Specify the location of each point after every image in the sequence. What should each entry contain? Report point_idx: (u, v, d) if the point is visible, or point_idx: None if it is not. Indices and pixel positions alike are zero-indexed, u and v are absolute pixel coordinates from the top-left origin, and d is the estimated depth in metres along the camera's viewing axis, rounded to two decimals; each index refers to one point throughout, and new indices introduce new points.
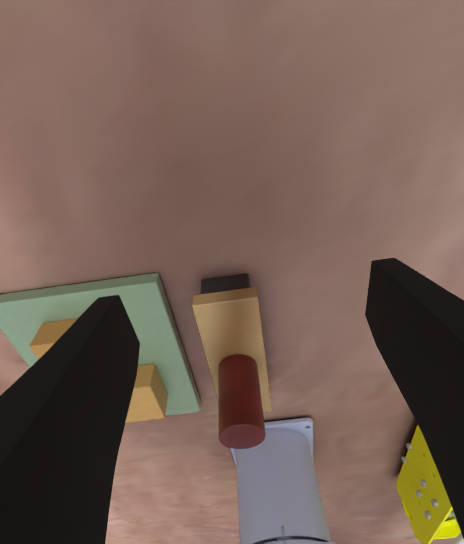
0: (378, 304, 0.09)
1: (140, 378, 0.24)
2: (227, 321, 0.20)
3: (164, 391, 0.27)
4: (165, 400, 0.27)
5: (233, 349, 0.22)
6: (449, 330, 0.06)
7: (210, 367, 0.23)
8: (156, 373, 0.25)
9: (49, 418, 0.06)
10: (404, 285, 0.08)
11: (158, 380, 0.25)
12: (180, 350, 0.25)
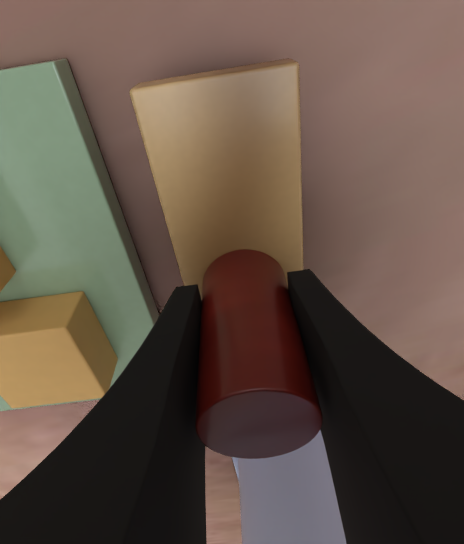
0: None
1: (50, 314, 0.12)
2: (221, 149, 0.08)
3: (109, 349, 0.15)
4: (110, 365, 0.14)
5: (235, 236, 0.10)
6: (324, 345, 0.06)
7: (186, 284, 0.11)
8: (88, 310, 0.13)
9: (171, 404, 0.06)
10: (303, 298, 0.08)
11: (93, 324, 0.13)
12: (132, 262, 0.13)
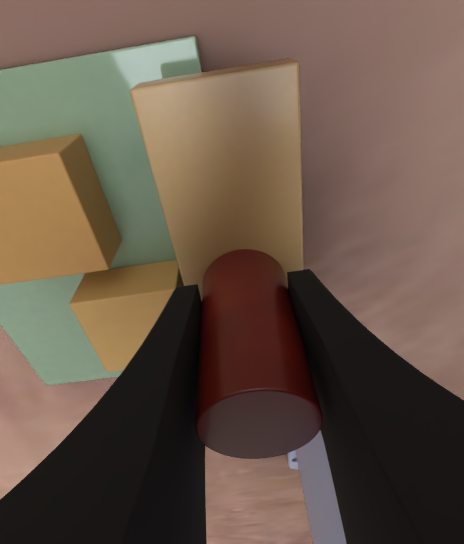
0: None
1: (156, 279, 0.13)
2: (222, 149, 0.08)
3: None
4: None
5: (235, 235, 0.10)
6: (323, 345, 0.06)
7: (186, 284, 0.11)
8: None
9: (171, 403, 0.06)
10: (303, 298, 0.08)
11: None
12: None
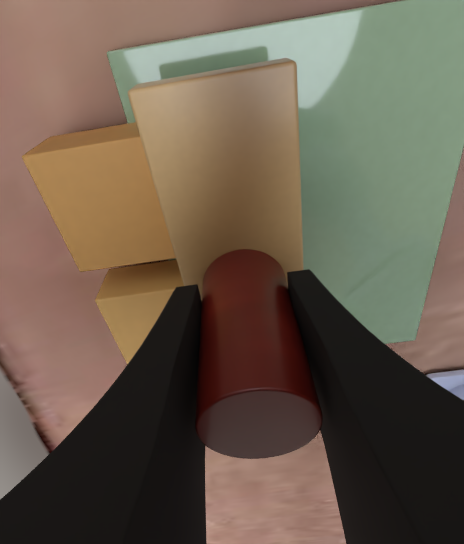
0: None
1: None
2: (220, 149, 0.08)
3: None
4: None
5: (234, 236, 0.10)
6: (324, 345, 0.06)
7: (186, 284, 0.11)
8: None
9: (171, 403, 0.06)
10: (303, 298, 0.08)
11: None
12: None
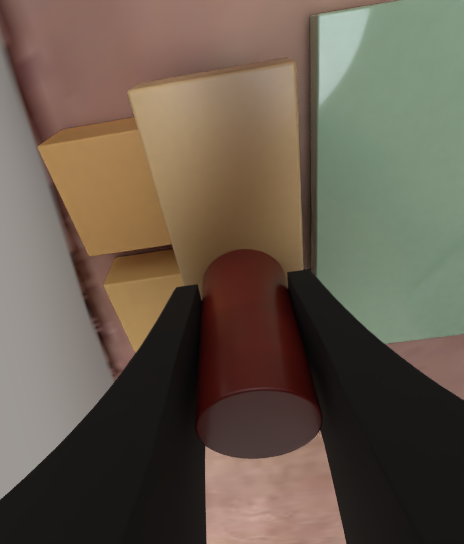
0: None
1: None
2: (220, 148, 0.08)
3: None
4: None
5: (234, 235, 0.10)
6: (324, 345, 0.06)
7: (186, 284, 0.11)
8: None
9: (171, 404, 0.06)
10: (303, 298, 0.08)
11: None
12: None
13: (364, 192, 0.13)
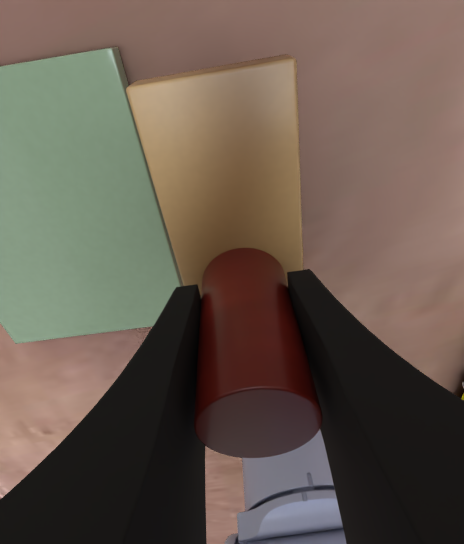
0: None
1: None
2: (219, 146, 0.08)
3: None
4: None
5: (234, 234, 0.10)
6: (324, 345, 0.06)
7: (185, 283, 0.11)
8: None
9: (171, 404, 0.06)
10: (303, 298, 0.08)
11: None
12: (157, 205, 0.16)
13: None
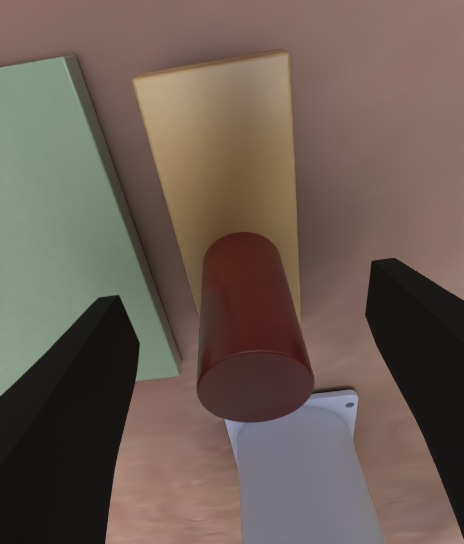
0: (378, 304, 0.09)
1: None
2: (218, 135, 0.09)
3: None
4: None
5: (232, 219, 0.10)
6: (448, 330, 0.06)
7: (187, 266, 0.11)
8: None
9: (49, 418, 0.06)
10: (404, 285, 0.08)
11: None
12: (135, 250, 0.13)
13: None
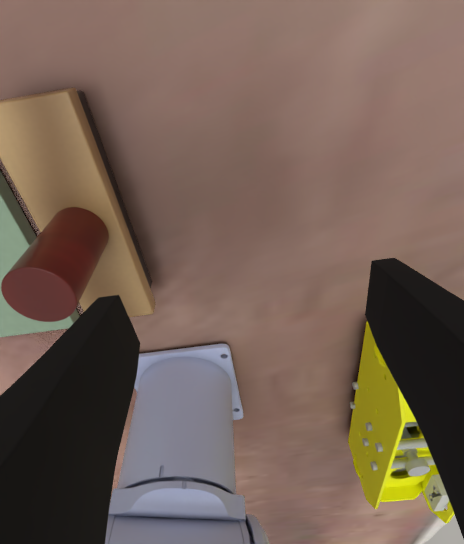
0: (378, 304, 0.09)
1: None
2: (37, 141, 0.14)
3: None
4: None
5: (64, 198, 0.15)
6: (449, 330, 0.06)
7: None
8: None
9: (49, 418, 0.06)
10: (404, 285, 0.08)
11: None
12: (19, 224, 0.18)
13: None
